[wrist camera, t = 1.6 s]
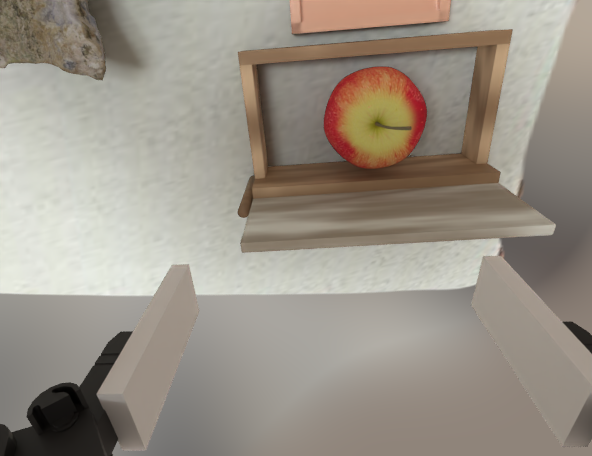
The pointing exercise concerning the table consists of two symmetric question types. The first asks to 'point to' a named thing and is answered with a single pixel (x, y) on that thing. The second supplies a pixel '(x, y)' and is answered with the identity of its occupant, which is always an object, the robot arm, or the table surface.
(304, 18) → the dish
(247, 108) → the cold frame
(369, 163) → the apple
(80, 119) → the table surface
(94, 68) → the rock
